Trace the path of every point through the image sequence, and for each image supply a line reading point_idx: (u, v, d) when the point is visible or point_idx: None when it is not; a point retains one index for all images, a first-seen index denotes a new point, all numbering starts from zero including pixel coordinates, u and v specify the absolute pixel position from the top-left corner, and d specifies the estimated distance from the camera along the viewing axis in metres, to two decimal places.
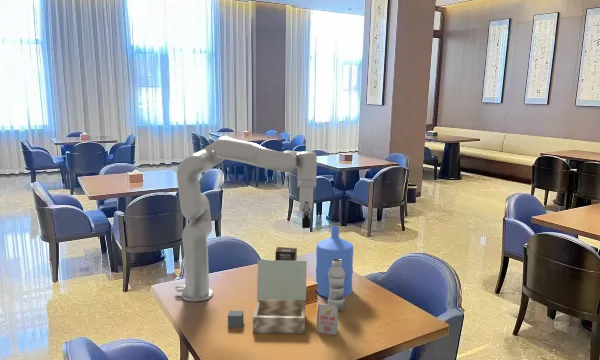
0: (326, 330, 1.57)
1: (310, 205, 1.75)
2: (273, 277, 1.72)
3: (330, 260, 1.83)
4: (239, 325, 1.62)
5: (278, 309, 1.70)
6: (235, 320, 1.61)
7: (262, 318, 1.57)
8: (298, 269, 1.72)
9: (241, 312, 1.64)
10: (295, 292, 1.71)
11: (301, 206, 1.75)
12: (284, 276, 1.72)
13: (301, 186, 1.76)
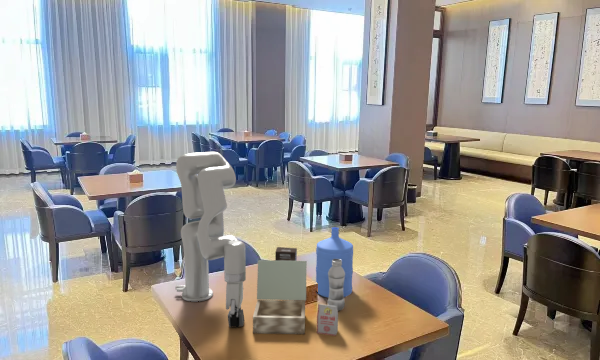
0: (326, 330, 1.57)
1: (237, 303, 1.57)
2: (273, 277, 1.72)
3: (330, 260, 1.83)
4: (240, 324, 1.61)
5: (278, 309, 1.70)
6: None
7: (262, 318, 1.57)
8: (298, 269, 1.72)
9: (241, 311, 1.63)
10: (295, 292, 1.71)
11: (227, 304, 1.57)
12: (284, 276, 1.72)
13: (227, 281, 1.58)
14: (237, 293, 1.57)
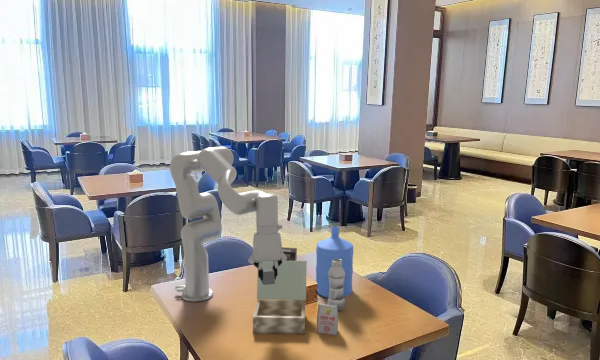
0: (326, 330, 1.57)
1: (254, 253, 1.57)
2: None
3: (330, 260, 1.83)
4: (263, 282, 1.59)
5: (278, 309, 1.70)
6: None
7: (262, 318, 1.57)
8: (298, 269, 1.72)
9: (270, 271, 1.59)
10: (295, 292, 1.71)
11: None
12: (284, 276, 1.72)
13: None
14: (254, 243, 1.56)
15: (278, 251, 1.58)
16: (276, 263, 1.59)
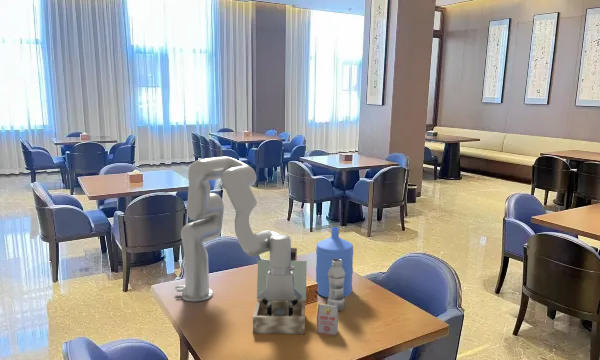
0: (326, 330, 1.57)
1: (266, 292, 1.61)
2: None
3: (330, 260, 1.83)
4: None
5: None
6: None
7: (262, 318, 1.57)
8: (298, 269, 1.72)
9: (281, 313, 1.61)
10: None
11: None
12: None
13: None
14: (266, 283, 1.60)
15: (289, 292, 1.60)
16: (291, 302, 1.61)
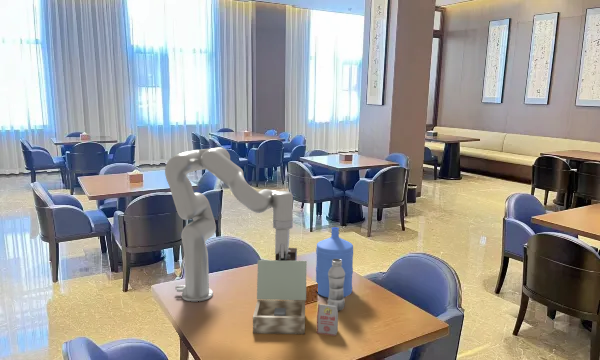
0: (326, 330, 1.57)
1: (286, 247, 1.70)
2: (273, 277, 1.71)
3: (330, 260, 1.83)
4: None
5: None
6: None
7: (262, 318, 1.57)
8: (298, 269, 1.72)
9: (281, 313, 1.61)
10: (295, 292, 1.71)
11: (277, 248, 1.70)
12: (284, 276, 1.71)
13: (277, 228, 1.71)
14: (286, 238, 1.70)
15: None
16: (286, 253, 1.77)
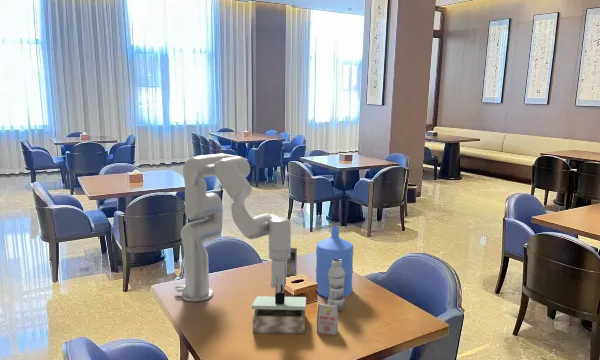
0: (326, 330, 1.57)
1: (283, 280, 1.53)
2: None
3: (330, 260, 1.83)
4: None
5: None
6: None
7: (262, 318, 1.57)
8: None
9: (281, 313, 1.61)
10: None
11: (273, 282, 1.53)
12: None
13: (273, 258, 1.54)
14: (283, 270, 1.53)
15: None
16: None
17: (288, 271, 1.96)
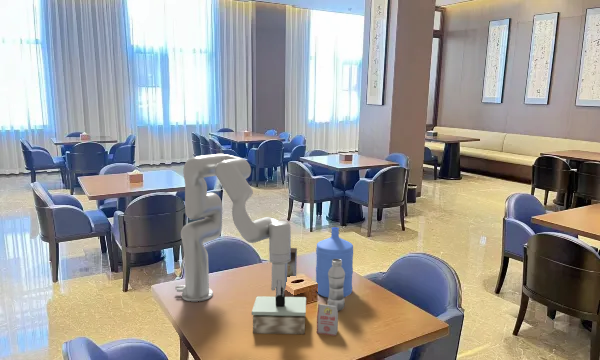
0: (326, 330, 1.57)
1: (283, 283, 1.55)
2: None
3: (330, 260, 1.83)
4: None
5: None
6: None
7: (262, 318, 1.57)
8: None
9: None
10: None
11: (273, 284, 1.55)
12: None
13: (273, 261, 1.55)
14: (283, 273, 1.54)
15: None
16: None
17: (288, 271, 1.96)
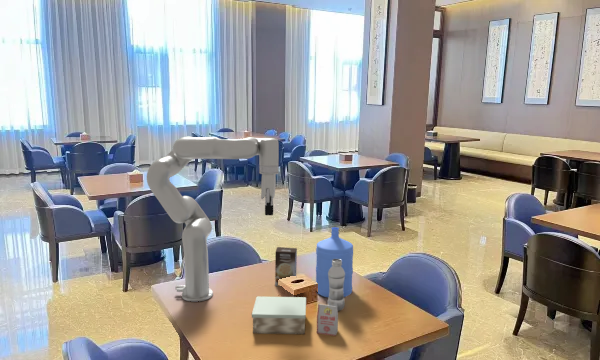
0: (326, 330, 1.57)
1: (271, 192, 1.75)
2: None
3: (330, 260, 1.83)
4: None
5: None
6: None
7: (262, 318, 1.57)
8: None
9: None
10: None
11: (262, 193, 1.75)
12: None
13: (263, 173, 1.75)
14: (271, 183, 1.74)
15: None
16: (272, 199, 1.81)
17: (288, 271, 1.96)
